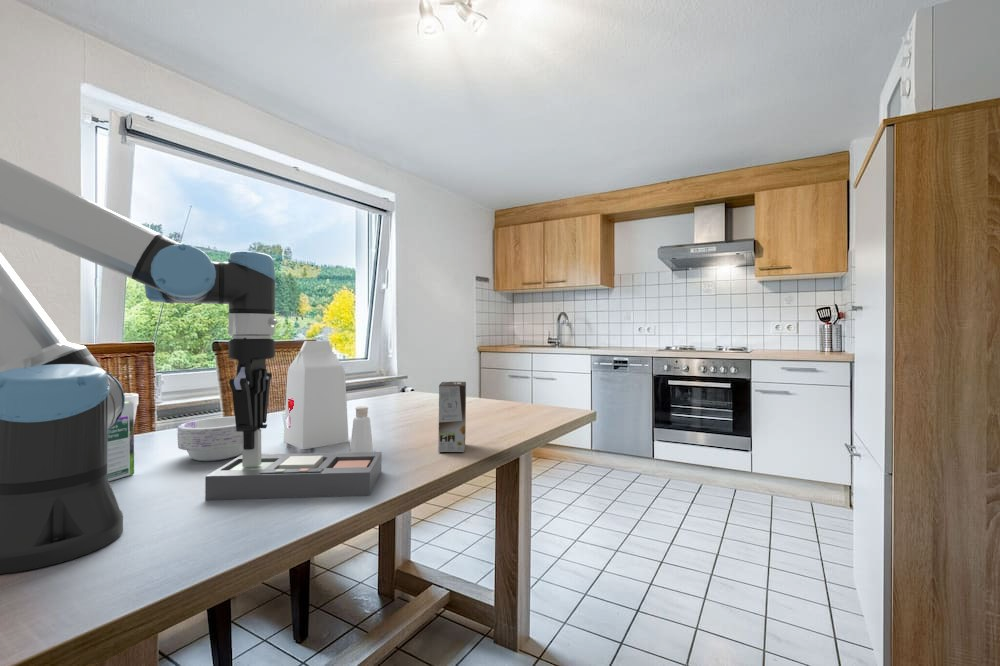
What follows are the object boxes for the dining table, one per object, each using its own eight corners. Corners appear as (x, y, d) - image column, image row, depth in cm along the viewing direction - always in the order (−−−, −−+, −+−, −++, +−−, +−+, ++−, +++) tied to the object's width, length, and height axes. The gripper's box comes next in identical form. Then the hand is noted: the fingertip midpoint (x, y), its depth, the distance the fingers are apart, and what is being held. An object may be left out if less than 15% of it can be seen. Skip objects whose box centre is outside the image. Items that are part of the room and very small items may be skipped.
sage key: (261, 483, 84) (261, 471, 84) (226, 484, 83) (226, 472, 83) (274, 473, 90) (274, 461, 90) (241, 474, 89) (241, 462, 89)
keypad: (369, 495, 82) (369, 470, 82) (205, 500, 79) (205, 474, 79) (381, 471, 96) (381, 450, 96) (241, 474, 93) (242, 453, 93)
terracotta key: (365, 481, 85) (365, 469, 85) (331, 481, 85) (331, 469, 85) (370, 471, 91) (370, 460, 91) (338, 472, 91) (338, 460, 91)
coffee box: (465, 453, 111) (465, 385, 111) (437, 453, 110) (438, 385, 110) (465, 444, 120) (466, 381, 120) (440, 444, 119) (440, 381, 119)
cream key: (313, 476, 85) (314, 464, 85) (279, 477, 84) (279, 465, 84) (322, 467, 90) (322, 455, 90) (290, 467, 90) (290, 456, 90)
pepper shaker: (344, 456, 107) (344, 408, 107) (358, 450, 112) (358, 404, 112) (365, 458, 105) (365, 409, 105) (378, 452, 111) (378, 405, 111)
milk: (302, 449, 113) (303, 341, 113) (283, 441, 121) (284, 340, 121) (348, 441, 122) (349, 341, 122) (328, 434, 130) (328, 340, 130)
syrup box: (105, 483, 87) (105, 405, 87) (79, 481, 88) (80, 404, 88) (134, 474, 92) (135, 401, 92) (110, 472, 94) (110, 399, 93)
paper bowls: (171, 455, 107) (172, 420, 107) (245, 444, 117) (245, 413, 117) (183, 470, 96) (184, 431, 96) (264, 457, 106) (264, 422, 106)
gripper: (259, 338, 80) (258, 475, 80) (285, 337, 93) (285, 455, 93) (212, 337, 79) (212, 477, 79) (246, 336, 92) (245, 456, 92)
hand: (251, 465), depth 86 cm, fingers closed
